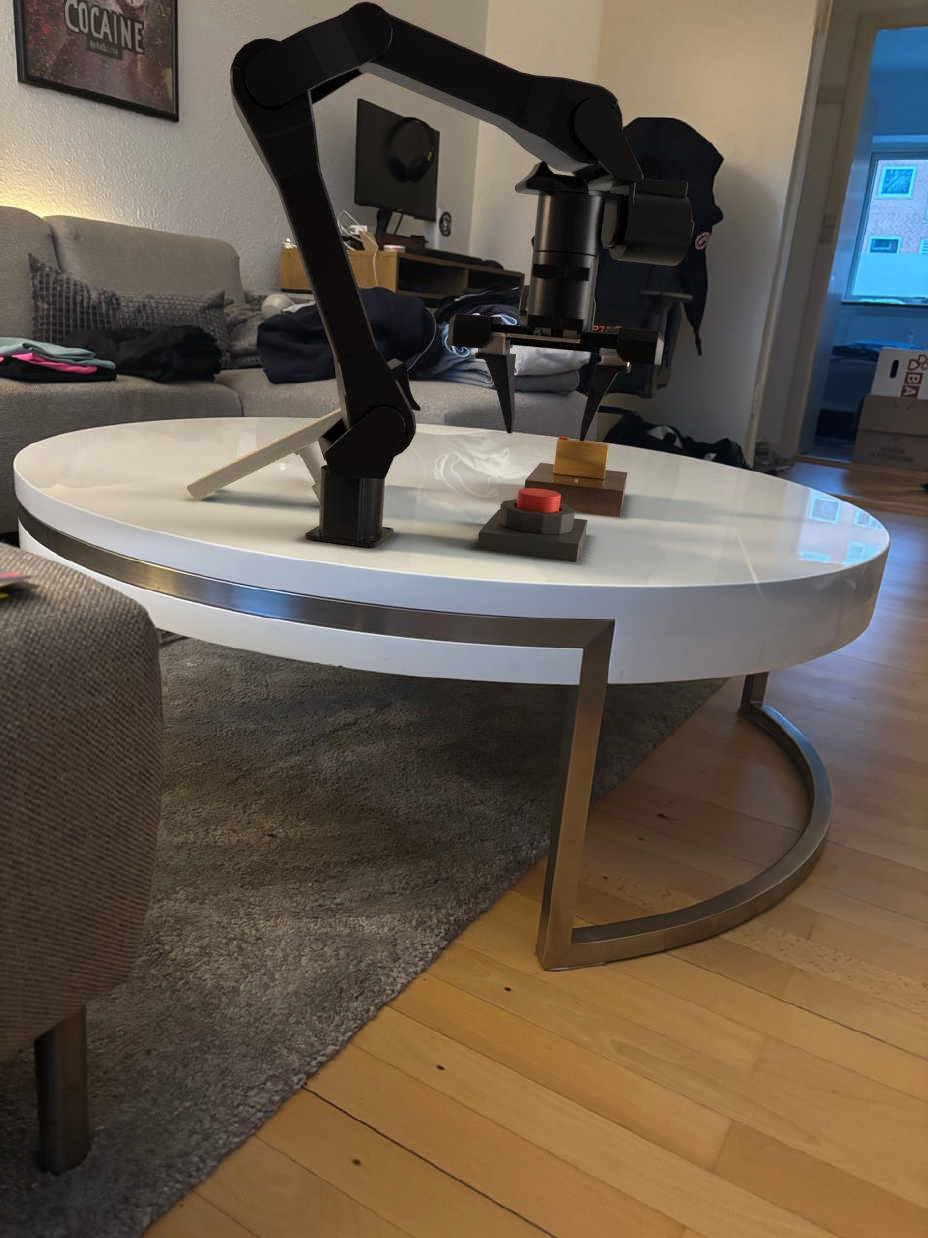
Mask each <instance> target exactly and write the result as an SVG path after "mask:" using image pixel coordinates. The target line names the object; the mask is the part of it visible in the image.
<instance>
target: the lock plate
mask: <svg viewBox="0 0 928 1238" xmlns="http://www.w3.org/2000/svg"><path fill="white" fill-rule="evenodd" d="M553 472H554V463H548V462H539V464H538V465H537V466H536V467H534V469H533V471H531V473H530V474H529V475H528V476H527V477H526V478H525V480H524V488H523V489H525V488H536V489H545V490H551V491H555V492H558V493H560V494H561V498H560V504H564V505H567V506H569V507H571V508H573V509H575V513H582V514H590V515H599V516H605V517H606V516H607V517H614V518H621V514H622V509H623V505H624V500H625V494H626V487H627V481H628V480H627V479H628V471H619V470H610V469H606V473H605V478H604V479H597V478H589V477H580V476H572V475H563V474H554V473H553Z"/></svg>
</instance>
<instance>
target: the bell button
mask: <svg viewBox="0 0 928 1238" xmlns="http://www.w3.org/2000/svg"><path fill="white" fill-rule="evenodd" d="M560 498H561V494H560V493H558V492H555V491H551V490H545V489H536V488H525V489H524V488H521V489H518V491H517V498H516V499H517V508H520V509H524V510H528V511H537V512H558V511H559V506H560Z"/></svg>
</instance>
